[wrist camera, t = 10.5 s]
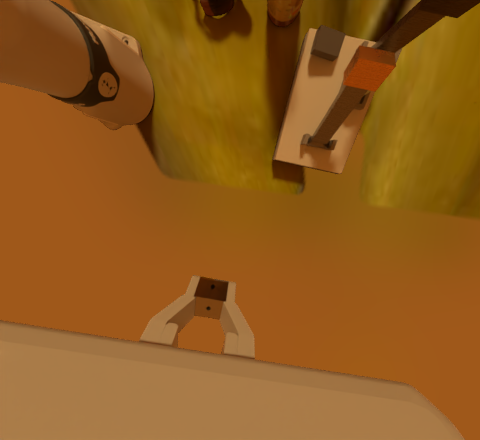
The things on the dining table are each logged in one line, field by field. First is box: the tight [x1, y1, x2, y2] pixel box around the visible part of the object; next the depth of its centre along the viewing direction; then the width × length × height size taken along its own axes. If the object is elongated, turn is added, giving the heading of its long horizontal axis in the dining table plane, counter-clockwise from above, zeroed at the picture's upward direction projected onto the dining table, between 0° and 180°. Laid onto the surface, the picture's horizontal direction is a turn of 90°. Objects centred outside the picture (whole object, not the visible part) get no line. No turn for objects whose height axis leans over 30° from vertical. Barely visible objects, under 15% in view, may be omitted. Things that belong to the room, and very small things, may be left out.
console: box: [272, 28, 402, 174], centre depth 34 cm, size 15×22×6 cm
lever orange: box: [306, 45, 396, 149], centre depth 28 cm, size 4×2×15 cm
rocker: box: [310, 25, 346, 61], centre depth 29 cm, size 4×3×2 cm
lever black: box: [370, 0, 480, 53], centre depth 23 cm, size 4×2×15 cm, turn 78°
